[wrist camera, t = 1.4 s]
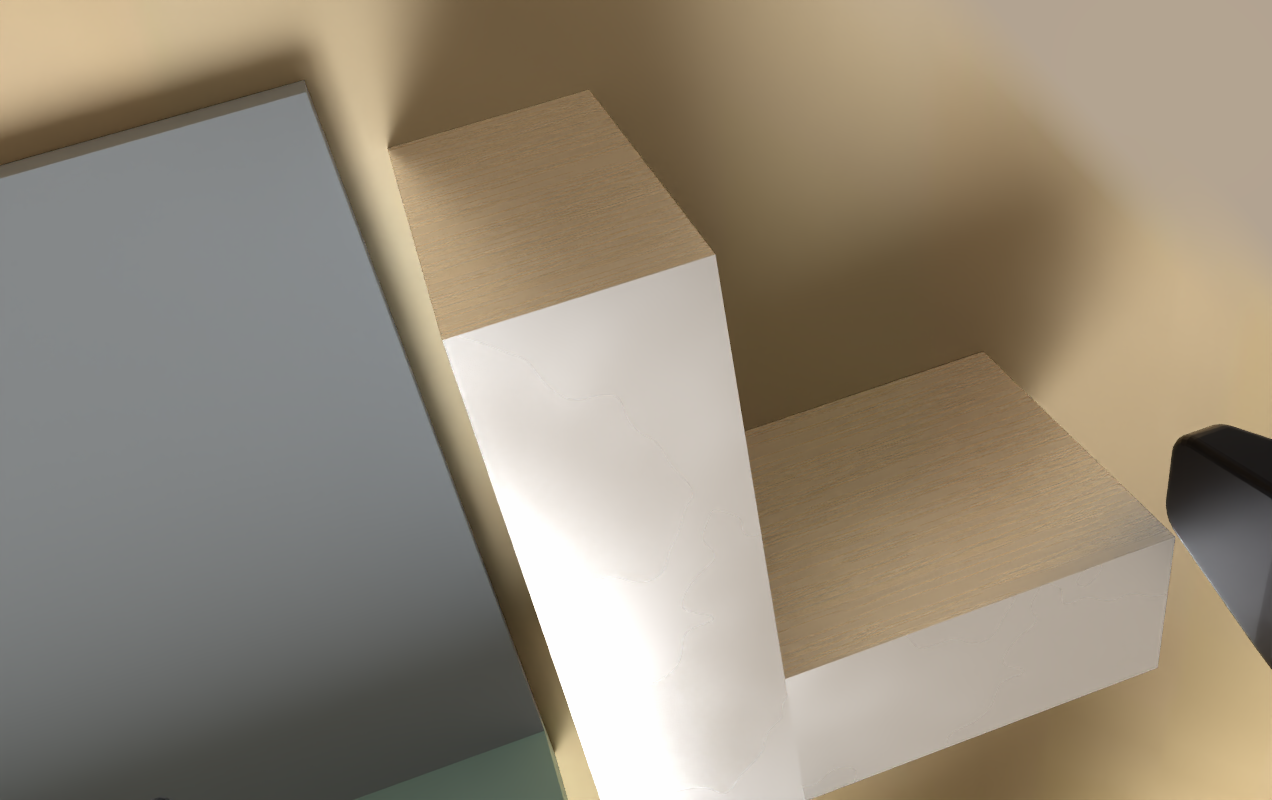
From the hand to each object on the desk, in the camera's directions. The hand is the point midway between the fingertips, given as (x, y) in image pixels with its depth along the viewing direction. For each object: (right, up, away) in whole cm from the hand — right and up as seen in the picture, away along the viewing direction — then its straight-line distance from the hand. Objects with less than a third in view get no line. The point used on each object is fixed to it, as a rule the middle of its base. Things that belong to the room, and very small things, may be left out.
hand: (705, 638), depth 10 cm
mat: (-8, 0, +5) cm, 10 cm away
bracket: (+1, +3, +6) cm, 7 cm away
